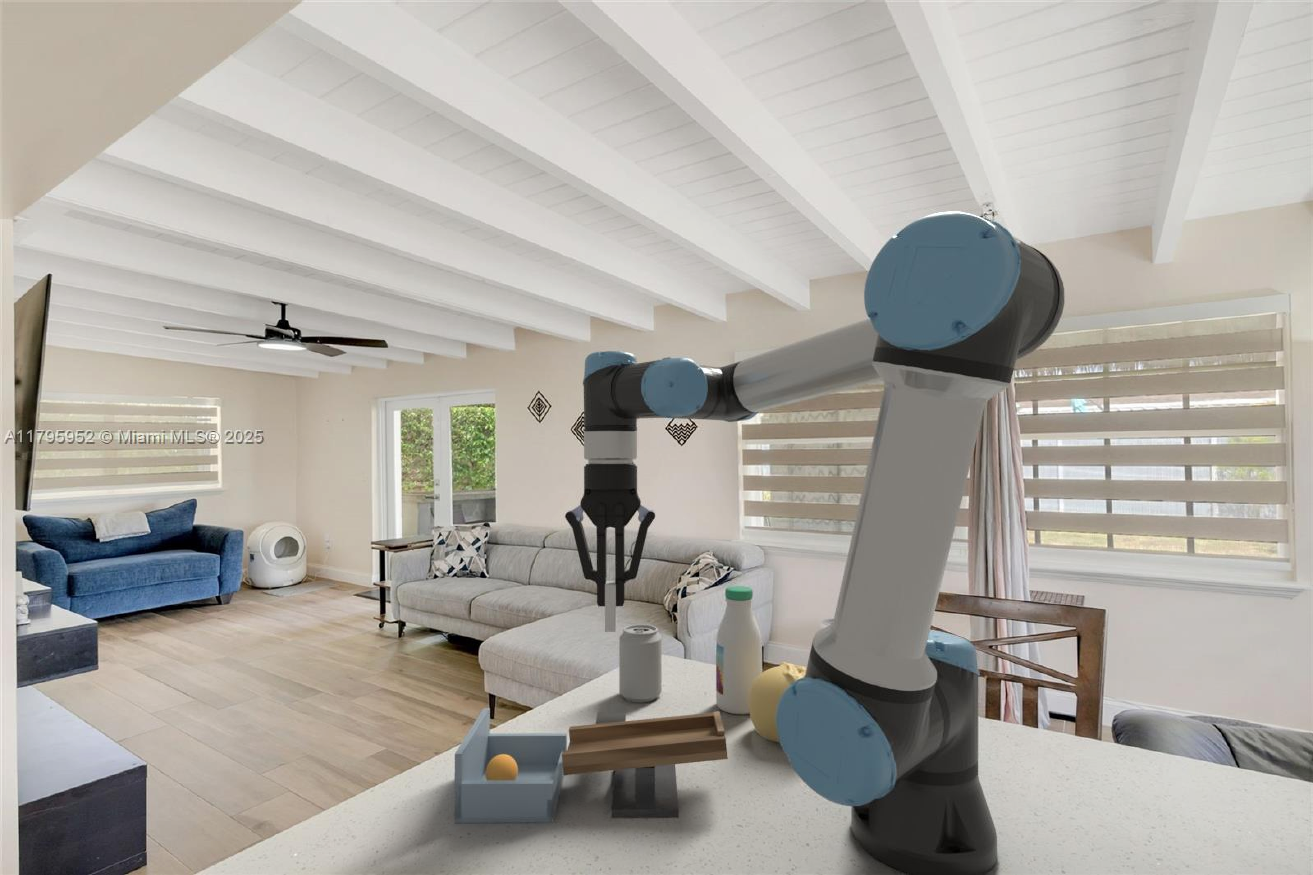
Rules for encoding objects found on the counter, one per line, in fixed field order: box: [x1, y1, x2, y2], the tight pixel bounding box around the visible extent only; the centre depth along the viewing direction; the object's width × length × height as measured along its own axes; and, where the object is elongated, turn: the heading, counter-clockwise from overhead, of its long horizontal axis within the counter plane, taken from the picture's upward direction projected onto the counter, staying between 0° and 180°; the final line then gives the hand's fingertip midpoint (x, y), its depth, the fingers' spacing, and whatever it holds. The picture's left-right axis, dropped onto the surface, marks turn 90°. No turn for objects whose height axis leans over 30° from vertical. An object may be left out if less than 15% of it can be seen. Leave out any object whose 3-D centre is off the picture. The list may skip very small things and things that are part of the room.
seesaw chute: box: [562, 708, 728, 776], centre depth 88 cm, size 16×20×3 cm
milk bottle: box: [715, 585, 763, 715], centre depth 112 cm, size 8×8×20 cm
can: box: [618, 623, 663, 703], centre depth 116 cm, size 8×8×12 cm
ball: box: [486, 754, 518, 780], centre depth 84 cm, size 4×4×4 cm
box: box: [453, 707, 568, 824], centre depth 84 cm, size 14×11×8 cm
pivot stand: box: [610, 764, 680, 819], centre depth 84 cm, size 12×8×4 cm, turn 1°
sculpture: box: [749, 661, 807, 743], centre depth 100 cm, size 11×12×11 cm
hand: (610, 629), depth 93 cm, fingers closed
